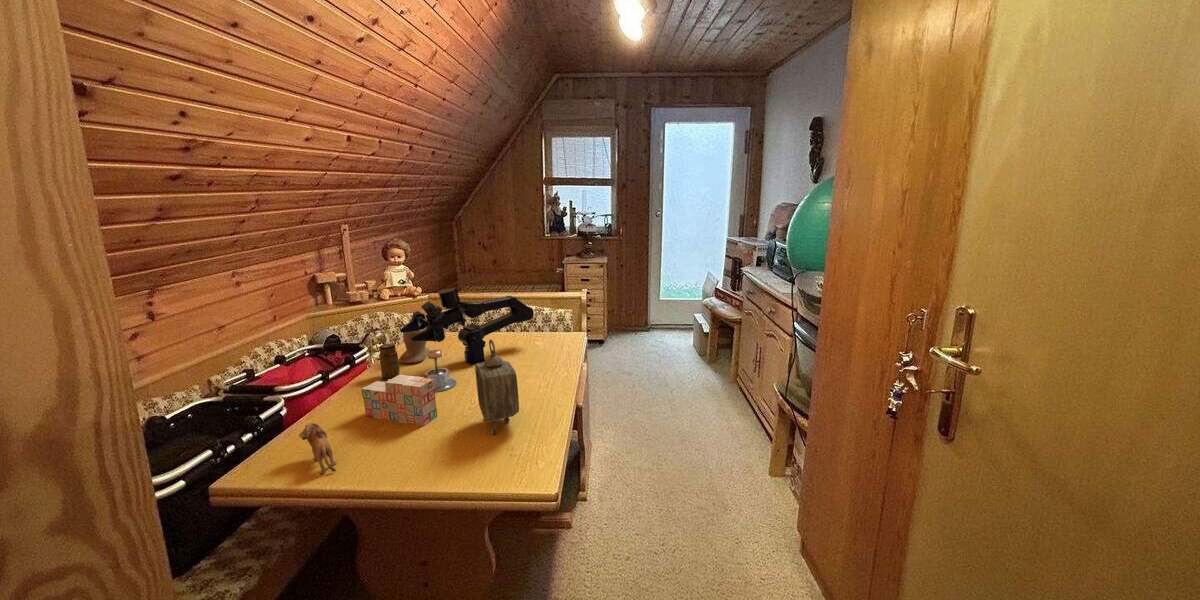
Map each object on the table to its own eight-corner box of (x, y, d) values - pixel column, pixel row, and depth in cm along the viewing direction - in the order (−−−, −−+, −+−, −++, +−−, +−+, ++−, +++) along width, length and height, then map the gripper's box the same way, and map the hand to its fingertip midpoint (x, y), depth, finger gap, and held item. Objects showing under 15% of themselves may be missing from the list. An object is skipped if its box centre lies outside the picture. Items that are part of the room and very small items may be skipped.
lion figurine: (301, 457, 121) (295, 425, 119) (323, 448, 125) (318, 417, 123) (324, 478, 112) (318, 443, 110) (347, 468, 116) (342, 434, 114)
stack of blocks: (365, 417, 142) (359, 379, 140) (380, 408, 148) (375, 371, 146) (424, 426, 136) (419, 386, 133) (438, 416, 141) (433, 378, 139)
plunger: (441, 370, 167) (438, 348, 165) (446, 374, 163) (444, 351, 161) (427, 374, 164) (425, 351, 162) (432, 377, 160) (430, 355, 158)
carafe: (444, 378, 169) (443, 366, 168) (453, 384, 164) (451, 372, 163) (415, 386, 163) (414, 373, 162) (423, 393, 157) (421, 380, 156)
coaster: (448, 376, 173) (448, 375, 172) (462, 385, 163) (461, 384, 163) (415, 385, 165) (415, 384, 165) (427, 395, 156) (427, 394, 156)
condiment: (398, 371, 179) (394, 341, 176) (405, 377, 173) (401, 346, 170) (377, 376, 175) (373, 345, 172) (384, 383, 168) (379, 351, 165)
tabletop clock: (479, 416, 140) (471, 335, 135) (510, 410, 144) (503, 331, 138) (488, 439, 127) (480, 350, 122) (521, 431, 131) (515, 344, 125)
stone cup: (427, 364, 186) (422, 327, 182) (395, 365, 185) (390, 328, 182) (437, 351, 200) (433, 317, 197) (408, 353, 200) (404, 318, 196)
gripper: (430, 292, 179) (389, 307, 170) (454, 306, 166) (411, 322, 157) (436, 318, 184) (397, 334, 174) (460, 333, 171) (419, 351, 162)
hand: (405, 335), depth 167 cm, fingers open, 9 cm apart
